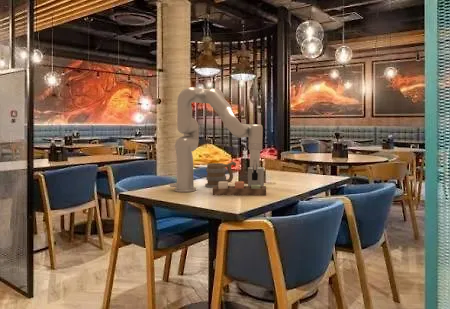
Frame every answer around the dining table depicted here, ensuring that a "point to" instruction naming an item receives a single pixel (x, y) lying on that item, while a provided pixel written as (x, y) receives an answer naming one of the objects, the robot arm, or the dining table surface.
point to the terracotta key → (239, 184)
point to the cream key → (223, 184)
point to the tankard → (218, 173)
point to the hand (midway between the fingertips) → (254, 180)
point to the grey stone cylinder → (260, 177)
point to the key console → (239, 191)
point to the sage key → (255, 186)
